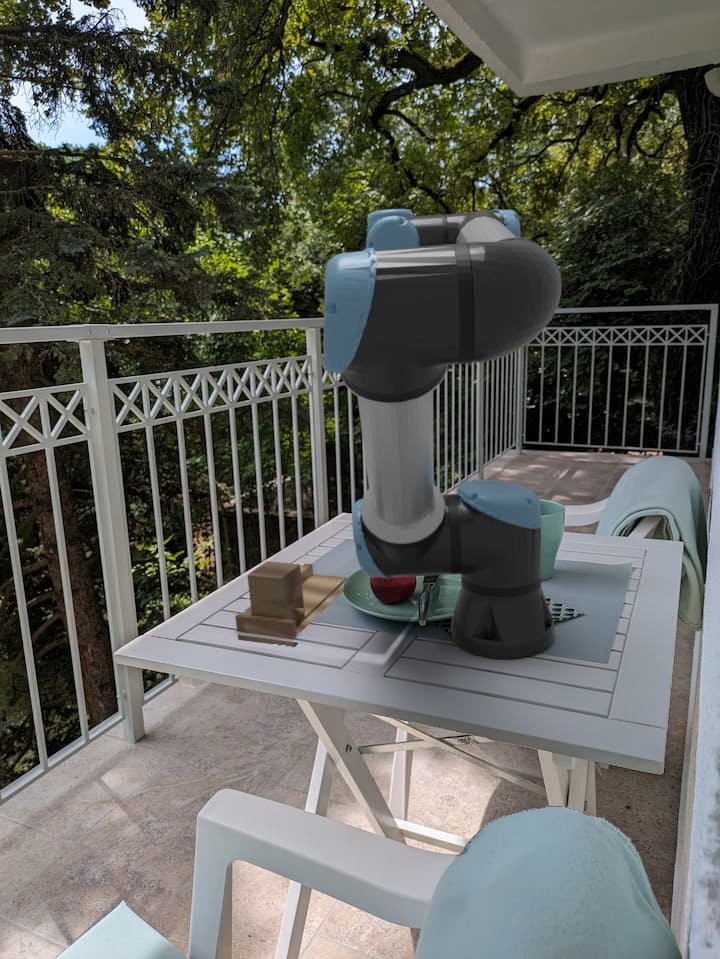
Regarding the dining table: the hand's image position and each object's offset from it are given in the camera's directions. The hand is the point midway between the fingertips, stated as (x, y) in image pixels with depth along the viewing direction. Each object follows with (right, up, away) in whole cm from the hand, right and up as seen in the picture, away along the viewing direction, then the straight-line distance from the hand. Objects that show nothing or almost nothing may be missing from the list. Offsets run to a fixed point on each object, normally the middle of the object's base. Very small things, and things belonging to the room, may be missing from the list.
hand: (403, 450), depth 126 cm
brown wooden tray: (-17, -27, -2) cm, 32 cm away
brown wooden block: (-20, -28, -10) cm, 36 cm away
